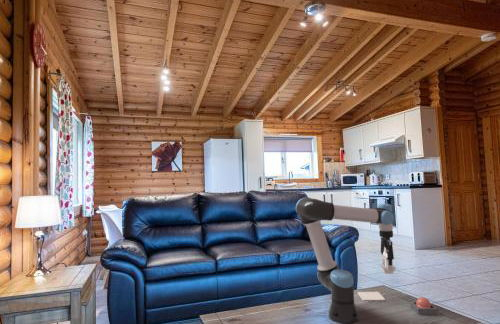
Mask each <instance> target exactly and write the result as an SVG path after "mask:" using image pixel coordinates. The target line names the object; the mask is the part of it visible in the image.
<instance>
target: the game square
mask: <svg viewBox="0 0 500 324" xmlns="http://www.w3.org/2000/svg"><path fill="white" fill-rule="evenodd" d="M357 294H358V296H359V297H360V299H361V300H362V301H363V302H365V301H367V302H368V301H369V302H371V301H372V302H374V301H375V302H380V301H382V302H385V301H386V298H385V297H384V296H383V295H382V294H381V293H380V292H379V291H357Z"/></svg>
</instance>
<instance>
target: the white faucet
mask: <svg viewBox="0 0 500 324" xmlns="http://www.w3.org/2000/svg"><path fill="white" fill-rule="evenodd" d="M387 258H388V257H387V251H386V248H385V247H384V252H383V260H385V265H382V264H379V267H380V268H381V271H382V272H383V273H384V274H386V275H387V274H388V275H389V274H394V273H395V271H396V269H397V267H395V265H393V271H388V268H387Z"/></svg>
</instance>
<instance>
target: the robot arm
mask: <svg viewBox="0 0 500 324" xmlns="http://www.w3.org/2000/svg"><path fill="white" fill-rule="evenodd" d="M295 212H296V213H297V215H298V216H299V218H300V220H301V223H302V225H304V226H305V227H306V230H307V234H308V237H309V239H310V242H311V246H312V249H313V251H314V255H315V259H316V261H317V263H318V265H317V267H316V270H317V274H316V276H317V280H318V282H319V283H320V284H321V285H322V286H323V287H325V288H326V289H328V290H329V291H330V293H331V294H330V296H331V303H330V306H329V310H328V317H329V319H330V320H332V321H334V322H337V323H340V324H354V323H355V322H356V323H357V322H358V320H359V313H358V309H357V307H356V304H355V289H354V288H355V287H354V284H355V282H354V281H355V280H354V277H353V276H354V275H353V274H352V273H351V272H350V271H348V270H345V269H339V266H338V265H339V264H338V263H337V261H335V260H334V259H333V256H332V253H331V249H330V247H329V243H328V241H327V237H326V234H325V232H324V229H323V226H322V223H321V221H333V220H339V221H348V222H349V221H351V222H360V223H361V222H362V223H371V224H378V229H379V230H378V231H379V232H378V233H379V237H380V254H381V265H385V260H383V252H384V247H385V248H386V251H387V257H388V258H387V268H388V271H393V266H394V265H393V260H394V259H395V257H394V249H393V248H394V247H393V241H391V239H392V238H393V237H394V231H393V230H394V229H393V228H394V219H395V216H394V214H393V207H392V204H390V203H379V204H378V206H377V207H372V208H371V207H369V208H368V207H356V206H347V205H338V204H334V203H333V202H329V201H325V200H321V199H317V198H311V197H302V198H300V199H299V200H298V201H297V202H296V204H295Z"/></svg>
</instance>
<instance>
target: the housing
mask: <svg viewBox="0 0 500 324" xmlns="http://www.w3.org/2000/svg"><path fill="white" fill-rule="evenodd" d="M409 304H410V305H409V307H410V308H411V309H412V310H413V311H414V312H415V313H416V314H417V315H421V316H424V315H426V316H427V315H433V316H435V315H439V312H438V311H439V310H438V308H437V307H436V306H434V305H433V304H432V303H431V302H430V304H431V308H419V307H417V306H416V301H410V303H409Z"/></svg>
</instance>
